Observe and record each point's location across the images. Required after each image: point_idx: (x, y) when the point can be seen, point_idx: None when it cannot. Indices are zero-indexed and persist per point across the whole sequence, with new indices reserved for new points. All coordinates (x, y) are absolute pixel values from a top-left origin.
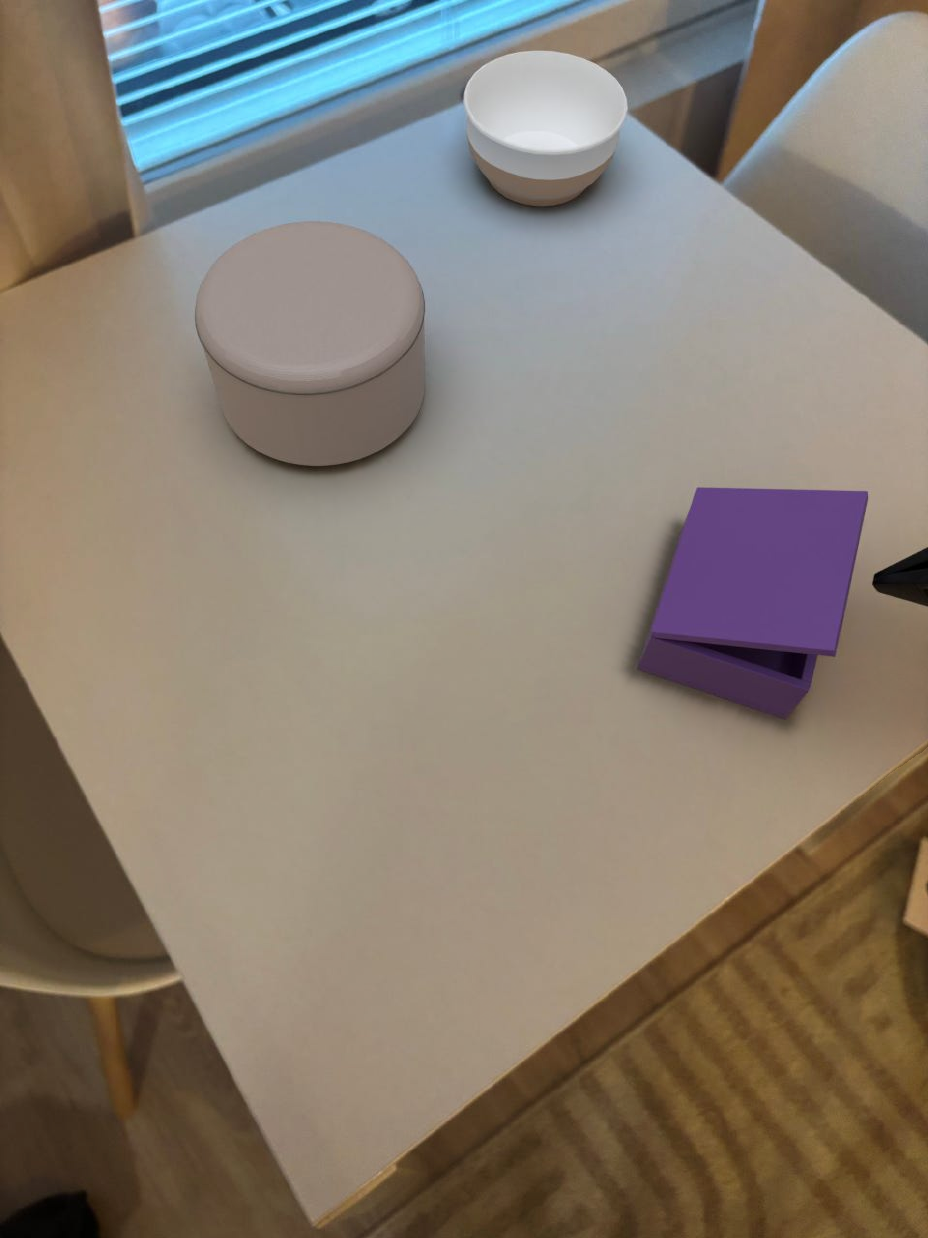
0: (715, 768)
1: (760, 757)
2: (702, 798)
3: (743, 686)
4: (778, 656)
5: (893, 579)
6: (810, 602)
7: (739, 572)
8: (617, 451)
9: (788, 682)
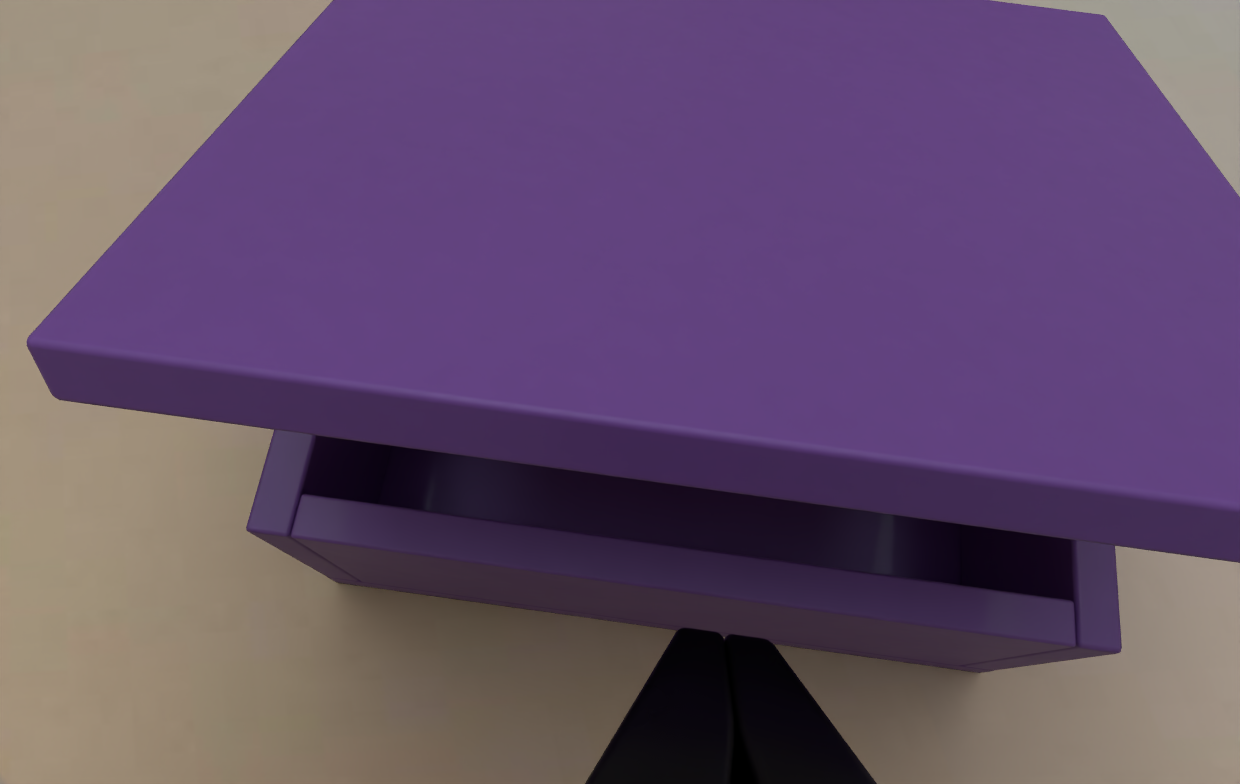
0: None
1: (183, 508)
2: None
3: None
4: (565, 527)
5: (661, 727)
6: (461, 260)
7: (678, 76)
8: (1187, 11)
9: (279, 438)
